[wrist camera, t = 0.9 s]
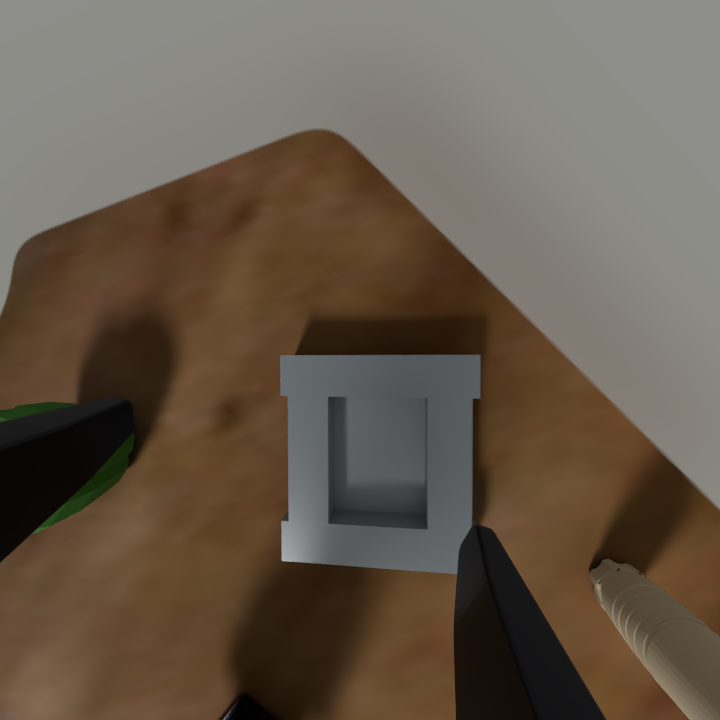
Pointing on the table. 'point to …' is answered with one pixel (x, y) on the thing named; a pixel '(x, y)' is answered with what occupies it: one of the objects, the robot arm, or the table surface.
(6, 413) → the bell pepper
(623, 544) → the table surface
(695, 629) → the handle
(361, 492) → the block
